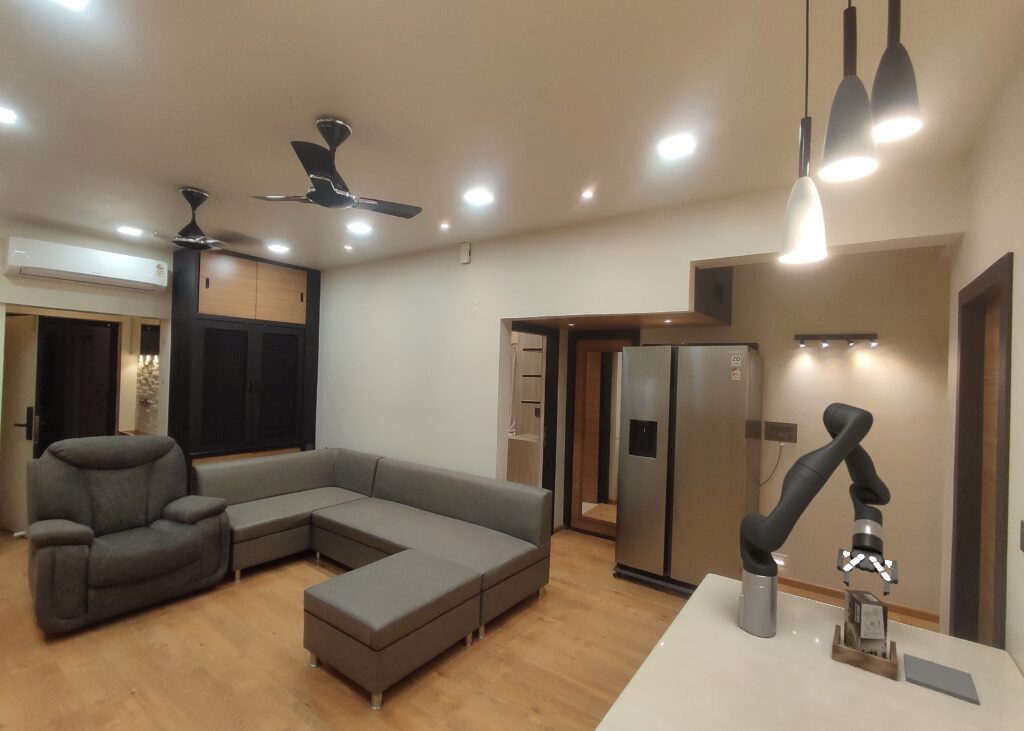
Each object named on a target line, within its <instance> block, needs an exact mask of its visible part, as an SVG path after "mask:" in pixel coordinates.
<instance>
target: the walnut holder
mask: <svg viewBox="0 0 1024 731" xmlns="http://www.w3.org/2000/svg"><path fill="white" fill-rule="evenodd" d="M834 626H835V627H834V634H833V639H832V644H831V646H832V648H831V649H832V650H831V660H833V661H836V662H839V663H842V664H844V663H845V664H846V665H847V664H849V665H848V666H850V665H851V667H853V666H854V668H856V667H858V668H857V669H859V668H861V669H860V670H862V669H864V670H863V671H865V670H866V671H865V672H868V671H869V672H868V673H872V674H874V673H875V674H874V675H877V674H878V675H877V676H880V675H881V676H880V677H883V676H884V678H887V679H889V680H893V681H895V682H898V655H897V654H898V652H897V642H896V641H893V640H889V659H888V658H886V659H884V658H881V657H878V656H875V655H871V654H868V653H865V652H862V651H859V650H856V649H853V648H849V647H846V646H844V644H841V640H842V639H841V636H842V635H841V632H842V631H841V630H842V629H841V628H842V625H840V624H836V623H835V625H834Z"/></svg>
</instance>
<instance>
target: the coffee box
mask: <svg viewBox="0 0 1024 731" xmlns="http://www.w3.org/2000/svg"><path fill="white" fill-rule="evenodd" d="M888 608H889V605H887V604H886V603H884V602H883V601H882V600H880V599H879V598H878V597H876V596H875V595H874V593H872V592H871V591H869V590H868V591H865V590H855V589H846V588H845V589H844V609H843V610H844V612H843V614H844V617H843V622H844V623H843V646H846V647H849V648H853V649H856V650H859V651H862V652H865V653H868V654H871V655H875V656H878V657H881V658H884V659H887V643H888V642H887V641H888V619H889V618H888V616H889V615H888V614H889V613H888V611H889V609H888Z"/></svg>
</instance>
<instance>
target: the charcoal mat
mask: <svg viewBox="0 0 1024 731" xmlns="http://www.w3.org/2000/svg"><path fill="white" fill-rule="evenodd" d="M903 661H904V663H903V664H904V671H905V681H906V682H909V683H912V684H914V685H917V686H920V687H924V688H926V689H929V688H930V689H929V690H932V691H935V692H939V693H941V694H943V695H948V696H950V697H953V698H956V699H958V700H962V701H965V702H968V703H971V704H974V705H977V706H980V699H979V696H978V692H977V690H976V687H975V683H974V681H973V678H972V675H971V673H969V672H966V671H963V670H960V669H958V668H957V669H956V668H954V667H953V668H952V667H950V666H946V665H943V664H940V663H937V662H934V661H931V660H927V659H923V658H920V657H917V656H914V655H911V654H907V653H903Z"/></svg>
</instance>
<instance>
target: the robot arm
mask: <svg viewBox="0 0 1024 731" xmlns="http://www.w3.org/2000/svg"><path fill="white" fill-rule="evenodd" d="M822 422H823V424H824V427H825V429H826V431H827V433H828V434H829V436H830V438H831V439H832V440H831V441H830V442H828V443H826V445H824V446H822V447H819V448H817V449H814V450H812V451H809V452H808V453H805V454H803V455H801V456H800V457H799V458H797V460H796V461H795V462H794V463H793V464H792V466H791V467H790V468H789V470H788V471H787V472H786V474H785V475H784V477H783V482H782V485H781V486H782V487H781V492H780V497H779V500H778V502H777V504H776V505H775V507H774V508H773V509H772V511H771V512H770V513H769V514H768V516H766V515H763V514H761V513H759V512H751V513H748V514H746V515H745V516H744V517H743V519H742V521H741V522H740V526H739V527H740V528H739V554H740V558H741V561H742V574H741V592H740V594H739V609H738V610H739V612H738V614H739V615H738V627H739V628H741V629H743V630H745V631H746V632H747V633H749V634H751V635H755V636H757V637H761V638H773V637H774V636H776V633H777V611H778V608H777V606H778V583H779V582H778V580H779V578H778V576H779V571H778V570H779V567H778V566H779V565H778V563H777V561H776V560H775V558H774V556H773V554H772V553H775V552H776V551H778V550H780V549H781V548H782V547H783V545H784V543H786V541H787V539H788V537H789V536H790V534H791V533H792V531H793V529H794V528H795V526H796V524H797V522H798V521H799V520H800V517H801V516H802V515H803V514H804V512H805V511H806V509H807V508H808V507H809V505H810V504H811V502H812V501H813V500H814V499H815V497H816V496H817V495H818V494H819V492H820V491H821V490H822V489H823V488H824V486H825V485H826V484H827V482H828V481H829V480H830V477H831V476H832V475H833V473H834V472H836V471H835V470H837V468H838V467H840V465H841V464H842V463H843V461H844V463H845V466H846V469H847V471H848V475H849V477H850V480H851V481H852V483H851V484H850V485H849V488H848V493H849V496H850V499H851V502H852V505H853V511H854V514H853V516H854V518H853V526H852V533H851V536H852V537H851V551H850V552H848V551H844V549H843V548H838V553H837V561H836V570H837V571H840V572H842V573H843V577H842V578H843V579H842V580H843V581H842V582H843V584H845V587H848V588H849V587H850V574H851V573H852V572H854V571H856V570H858V569H859V570H860V571H862V572H869V573H871V574H874V573H876V575H877V576H878V577H879V578H881V580H882V581H883V583H882V584H883V585H882V587H883V588H882V590H883V592H882V594H883V596H884V597H887V596H889V595H890V593H891V584H894V585H898V584H899V570H898V562H897V560H886V559H885V558H884V542H885V540H884V530H883V523H884V522H883V521H884V520H883V513H882V511H881V510H880V509H879V508H878V507H875V506H880V507H881V506H886V505H887V504H889V502H890V501H891V492H890V489H889V488H888V486H887V485H886V484H885V482H884V481H883V480H882V479H881V478H880V476H879V475H878V473H877V471H876V466H875V464H874V461H873V460H872V458H871V456H870V455H869V453H868V452H867V451H866V450H865V448H864V447H863V446H862V445H861V444H860V443H862V441H863V440H864V439H865V438H866V436H867V435H868V434H869V432H870V431H871V429H872V427H873V424H874V416H873V414H872V412H870V411H869V410H866V409H864V408H861V407H857V406H853V405H849V404H846V403H842V402H832V403H830V404H829V405H828V406H827V407H826V408H825V410H824V411H823V414H822ZM847 558H849V559H850V560H851V561H849V563H848V564H846V565H843V563H844V560H846V559H847ZM885 566H887V568H888V569H889V570H890V571H891V576H889V575H888V573H887V572H886V571H885V569H884V568H883V567H885Z"/></svg>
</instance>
